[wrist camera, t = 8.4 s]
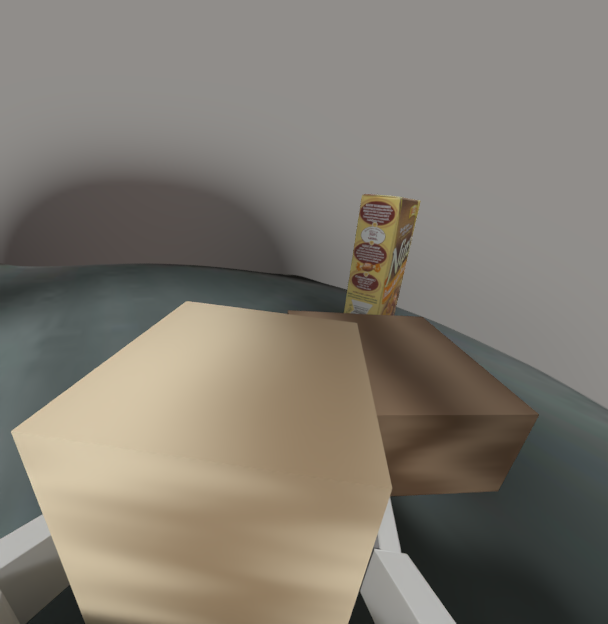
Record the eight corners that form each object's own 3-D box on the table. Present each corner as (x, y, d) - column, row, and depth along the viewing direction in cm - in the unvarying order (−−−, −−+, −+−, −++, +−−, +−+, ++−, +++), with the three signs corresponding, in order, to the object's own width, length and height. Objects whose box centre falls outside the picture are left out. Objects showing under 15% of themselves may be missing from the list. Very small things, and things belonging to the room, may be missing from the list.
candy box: (372, 346, 31) (405, 196, 25) (337, 334, 33) (360, 192, 27) (393, 321, 39) (423, 200, 33) (364, 312, 40) (387, 196, 34)
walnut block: (293, 504, 15) (304, 415, 13) (282, 371, 26) (287, 310, 24) (496, 494, 17) (539, 414, 14) (406, 373, 28) (422, 317, 25)
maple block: (125, 728, 8) (10, 431, 4) (200, 533, 13) (186, 301, 8) (302, 761, 8) (392, 488, 4) (312, 551, 12) (357, 323, 8)
